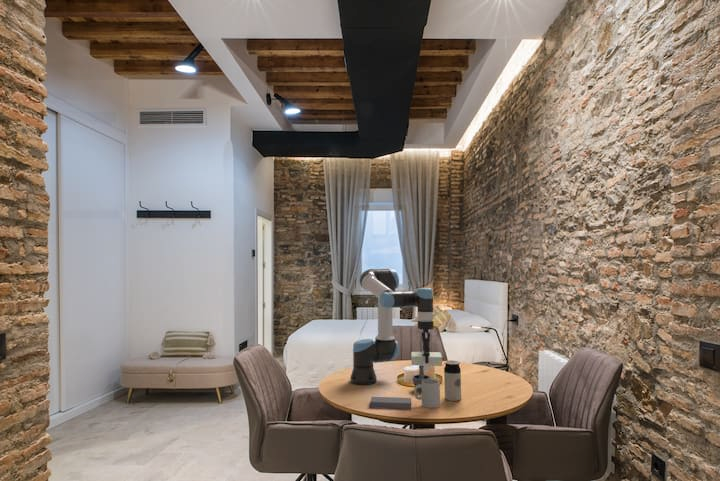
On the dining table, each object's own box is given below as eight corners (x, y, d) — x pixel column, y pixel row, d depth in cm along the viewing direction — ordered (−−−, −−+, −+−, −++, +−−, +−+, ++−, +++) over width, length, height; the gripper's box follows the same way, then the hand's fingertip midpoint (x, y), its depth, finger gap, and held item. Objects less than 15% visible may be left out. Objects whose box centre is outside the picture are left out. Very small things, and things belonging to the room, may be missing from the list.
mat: (371, 401, 197) (371, 396, 197) (411, 403, 194) (411, 397, 195) (370, 407, 189) (370, 401, 189) (411, 408, 186) (411, 403, 187)
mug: (438, 402, 196) (437, 379, 196) (441, 408, 187) (441, 383, 188) (413, 402, 196) (413, 379, 196) (415, 408, 187) (415, 384, 188)
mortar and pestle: (431, 393, 210) (430, 369, 211) (412, 392, 211) (412, 369, 212) (430, 387, 221) (429, 364, 222) (413, 386, 223) (412, 364, 223)
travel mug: (442, 397, 203) (441, 360, 205) (456, 395, 206) (455, 359, 207) (449, 402, 196) (448, 364, 197) (464, 400, 198) (463, 362, 199)
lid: (411, 360, 199) (411, 351, 200) (440, 360, 197) (440, 352, 198) (411, 365, 188) (411, 356, 189) (442, 365, 187) (441, 357, 187)
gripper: (434, 323, 182) (435, 373, 181) (432, 317, 206) (433, 361, 204) (417, 323, 183) (418, 373, 182) (417, 317, 206) (418, 361, 205)
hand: (426, 367), depth 193 cm, fingers closed on lid, 11 cm apart
